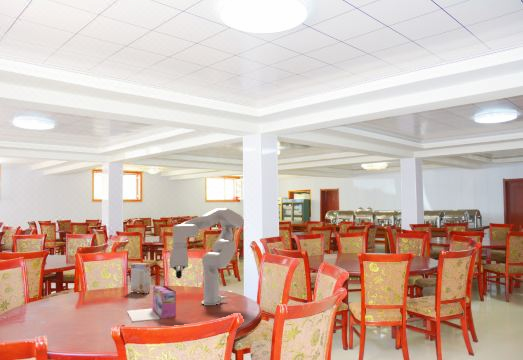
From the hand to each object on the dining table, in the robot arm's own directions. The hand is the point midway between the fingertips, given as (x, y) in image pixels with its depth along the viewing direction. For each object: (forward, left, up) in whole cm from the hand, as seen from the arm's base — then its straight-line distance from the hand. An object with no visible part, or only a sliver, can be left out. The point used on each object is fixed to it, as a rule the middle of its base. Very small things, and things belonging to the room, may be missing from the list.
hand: (178, 277), depth 242 cm
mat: (+20, 0, -19) cm, 28 cm away
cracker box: (+12, -71, -19) cm, 75 cm away
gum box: (+8, 0, -19) cm, 21 cm away
